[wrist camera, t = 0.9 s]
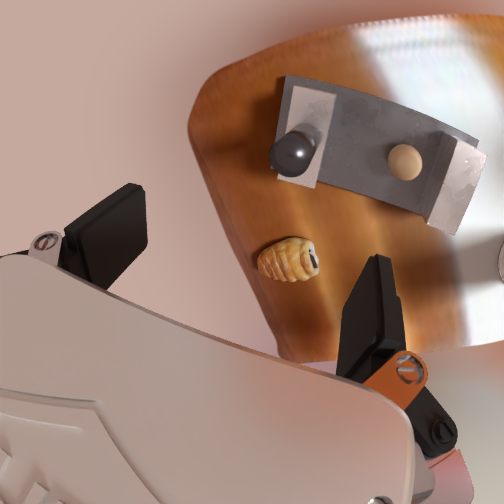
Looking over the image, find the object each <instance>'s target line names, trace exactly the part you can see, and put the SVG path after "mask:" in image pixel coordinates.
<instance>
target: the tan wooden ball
mask: <svg viewBox="0 0 504 504" xmlns="http://www.w3.org/2000/svg"><path fill="white" fill-rule="evenodd" d="M388 166H389V169H390V171H391V172H392V174H393V175H394V176H396V177H397V178H399V179H401V180H412V179H414V178H416V177H417V176H418V175H419V173H420V171H421V169H422V159H421V156H420V154H419V153H418V151H417V150H416V149H415V148H413V147H412V146H410V145H406V144H401V145H398V146H396V147H394V148H393V149H392V150H391V151H390V153H389V156H388Z"/></svg>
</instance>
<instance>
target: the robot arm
mask: <svg viewBox="0 0 504 504" xmlns="http://www.w3.org/2000/svg"><path fill="white" fill-rule="evenodd" d="M64 232H65V236H64V237H63V238H62V235H61V234H60V233H59V232H56V231H48V232H44V233H42V234H40V235H38V236H37V237H36V238H35V239H34V240H33V241H32V243H31V246H30V249H29V250H25V251H21V252H17V253H12V254H8V255H4V256H0V504H471V502H472V500H473V497H474V488H473V484H472V481H471V479H470V475H469V473H468V470H467V467H466V465H465V462H464V459H463V456H462V454H461V451H460V449H458V450H456V449H455V444H456V442H457V437H458V435H457V428H456V425H455V423H454V421H453V420H452V419H451V417H449V415H448V414H447V412H446V411H445V410H444V409H443V408H442V406H441V405H440V404H439V403H438V401H437V400H436V399H435V398H434V396H433V395H432V394H431V393H430V392H429V390H428V389H427V388H426V387H425V386H424V385H425V384H426V382H427V380H428V370H427V367H426V365H425V363H424V361H423V360H422V359H421V358H420V357H419V356H418V355H417V354H415V353H413V352H411V351H406V341H405V331H404V322H403V314H402V307H401V300H400V298H399V297H398V296H397V295H396V288H395V282H394V276H393V270H392V264H391V259H390V258H388V257H385V256H382V255H379V254H376V255H375V256H374V257H373V256H370V257H369V259H368V261H367V263H366V265H365V267H364V269H363V271H362V273H361V275H360V277H359V279H358V281H357V282H356V284H355V286H354V288H353V290H352V292H351V294H350V296H349V298H348V300H347V301H346V303H345V305H344V308H343V311H342V321H341V332H340V342H339V352H338V360H337V368H336V375H334V374H330V373H327V372H324V371H321V370H317V369H313V368H310V367H307V366H303V365H300V364H297V363H294V362H290V361H287V360H284V359H281V358H277V357H274V356H271V355H268V354H265V353H262V352H259V351H256V350H253V349H249V348H247V347H243V346H241V345H238V344H235V343H232V342H230V341H227V340H224V339H221V338H219V337H216V336H213V335H210V334H208V333H205V332H202V331H200V330H197V329H195V328H192V327H189V326H187V325H184V324H182V323H179V322H177V321H174V320H172V319H169V318H167V317H165V316H162V315H160V314H158V313H155V312H153V311H151V310H148V309H146V308H143V307H141V306H139V305H137V304H134V303H132V302H130V301H128V300H125V299H123V298H121V297H119V296H117V295H115V294H112V293H110V292H108V291H106V290H107V289H108V288H109V287H110V286H111V285H112V284H113V283H114V281H115V280H116V279H117V278H118V277H119V276H120V275H121V274H122V273H123V272H124V270H126V268H127V267H128V266H129V265H130V264H131V263H132V262H133V261H134V260H135V259H136V258H137V257H138V256H139V255H140V254H141V253H142V252H143V251H144V250H145V248H146V247H147V243H148V240H147V239H148V238H147V222H146V202H145V191H144V190H143V188H142V186H141V185H137V184H132V183H128V184H126V185H125V186H123V187H121V188H120V189H118V190H117V191H115V192H114V193H112V194H111V195H109V196H108V197H106V198H105V199H104V200H102V201H101V202H99V203H98V204H96V205H95V206H94V207H92V208H91V209H89V210H88V211H87V212H85V213H84V214H82V215H81V216H80V217H79V218H77V219H76V220H74V221H73V222H72V223H70V224H69V225H68V226H67V227H65V228H64ZM498 268H499V273H500V275H501V277H502V280H503V281H504V243H503V246H502V248H501V251H500V255H499V261H498Z"/></svg>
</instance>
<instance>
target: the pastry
mask: <svg viewBox="0 0 504 504" xmlns="http://www.w3.org/2000/svg"><path fill="white" fill-rule="evenodd" d="M314 250H315V248H314V245H313V243H312V242H311V241H310V240H307V239H303V238H299V237H292V238H287V239H285V240H282V241H280V242H277V243H276V244H274V245H272V246H270V247H268V248H266V249H264V250H263V251H262V252H261V253H260V254H259V257H258V258H257V266H258V270H259V273H261V274H263V275H264V276H267V277H270V278H272V279H273V280H277V279H279V280H281V281H282V282H284V281H290V282H295V281H296V280H300V281H306V280H308V279H309V278H310V277H314V276H315V275H318V274H319V272H320V269H319V265H318V263H319V260H318V257H317V255H316V253H315V252H314Z"/></svg>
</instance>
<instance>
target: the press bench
mask: <svg viewBox="0 0 504 504" xmlns="http://www.w3.org/2000/svg"><path fill="white" fill-rule="evenodd" d="M294 86H305V87H310V88H315V89H319V90H323V91H328V92H332V93H336V94H337V97H336V102H335V107H334V112H333V116H332V121H331V125H330V130H329V135H328V139H327V143H326V148H325V152H324V156H323V161H322V165H321V169H320V173H319V176H318V179H317V181H320V182H323V183H327V184H330V185H334V186H337V187H341V188H344V189H347V190H350V191H354V192H357V193H360V194H363V195H366V196H369V197H372V198H375V199H378V200H381V201H384V202H387V203H390V204H393V205H396V206H398V207H401V208H404V209H407V210H409V211H412V212H415V213H418V214H420V215H422V216H423V218H424V220H425V223H426V224H427V225H429V226H432V227H434V228H437V229H440V230H442V231H445V232H447V233H450V234H452V235H455V233H456V231H457V229H458V227H459V225H460V223H461V220H462V218H463V216H464V214H465V212H466V209H467V207H468V205H469V203H470V200H471V198H472V195H473V193H474V191H475V188H476V186H477V183H478V180H479V178H480V175H481V172H482V170H483V167H484V164H485V161H486V158H487V155H486V154H484V153H483V152H481V151H480V150H478V149H477V145H478V142H479V140H477V139H475V138H473V137H471V136H470V135H468V134H466V133H464V132H462V131H460V130H458V129H456V128H454V127H452V126H450V125H447V124H445V123H443V122H441V121H439V120H437V119H434V118H432V117H430V116H427V115H425V114H423V113H420V112H418V111H415V110H413V109H410V108H408V107H405V106H402V105H400V104H397V103H394V102H391V101H388V100H385V99H382V98H379V97H376V96H373V95H370V94H367V93H363V92H360V91H357V90H353V89H349V88H346V87H342V86H338V85H334V84H330V83H326V82H321V81H317V80H312V79H307V78H302V77H297V76H292V75H286V78H285V84H284V90H283V96H282V102H281V108H280V114H279V120H278V126H277V132H276V138H275V143H276V142H277V141H278V140H279V139H281V138H282V137H283V136H284V135H285V133H286V127H287V122H288V116H289V110H290V105H291V99H292V93H293V87H294ZM401 144H406V145H410V146H412V147H413V148H415V149H416V150H417V151H418V153H419V154H420V156H421V159H422V169H421V171H420V173H419V175H418V176H417V177H416V178H414V179H412V180H401V179H399V178H397V177H396V176H394V175H393V174H392V172H391V171H390V169H389V166H388V156H389V153H390V151H391V150H392V149H393V148H394V147H396V146H398V145H401ZM270 169H273V167H272V165H271V168H270Z"/></svg>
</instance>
